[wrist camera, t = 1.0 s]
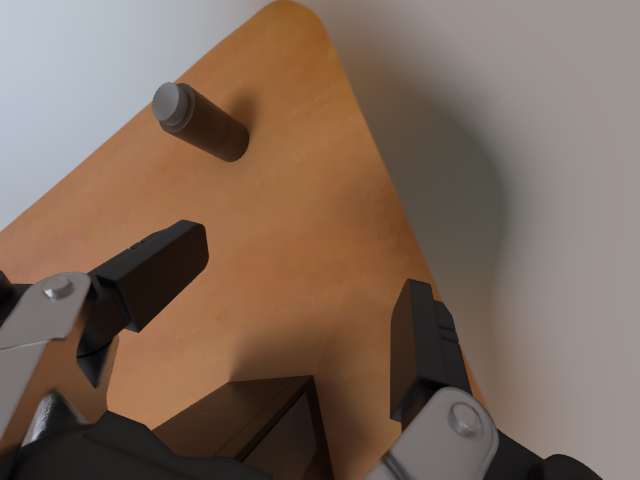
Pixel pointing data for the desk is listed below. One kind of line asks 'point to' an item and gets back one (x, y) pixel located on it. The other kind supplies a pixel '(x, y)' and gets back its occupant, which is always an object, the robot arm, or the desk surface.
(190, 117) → the pepper grinder
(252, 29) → the desk surface
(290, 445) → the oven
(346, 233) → the desk surface
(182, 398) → the desk surface
